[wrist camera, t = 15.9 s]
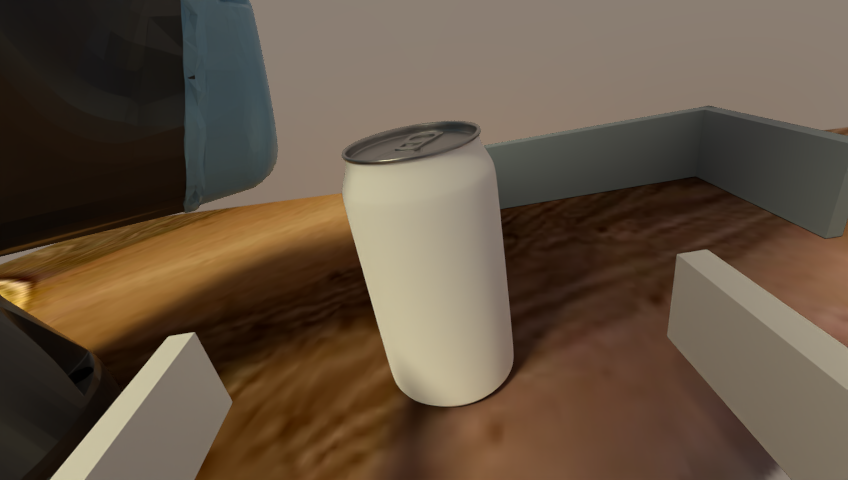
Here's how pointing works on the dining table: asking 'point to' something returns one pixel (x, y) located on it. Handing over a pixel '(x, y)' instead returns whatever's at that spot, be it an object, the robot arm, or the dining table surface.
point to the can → (433, 258)
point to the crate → (687, 163)
